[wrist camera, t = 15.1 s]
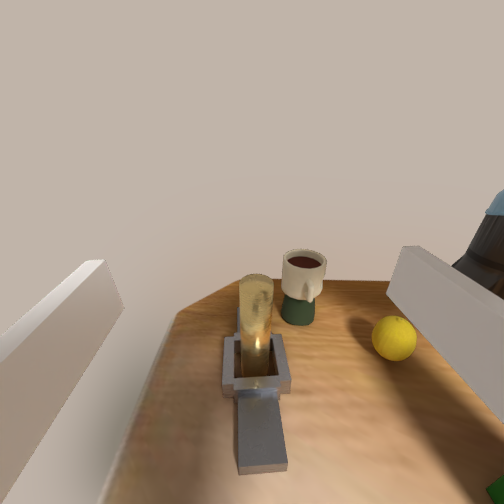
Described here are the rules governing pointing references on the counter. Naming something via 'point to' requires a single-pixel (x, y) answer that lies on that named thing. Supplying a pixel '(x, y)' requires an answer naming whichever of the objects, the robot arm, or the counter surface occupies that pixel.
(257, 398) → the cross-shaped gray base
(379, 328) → the lemon
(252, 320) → the link pin
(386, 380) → the counter surface
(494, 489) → the milk carton
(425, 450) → the counter surface
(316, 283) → the character mug
